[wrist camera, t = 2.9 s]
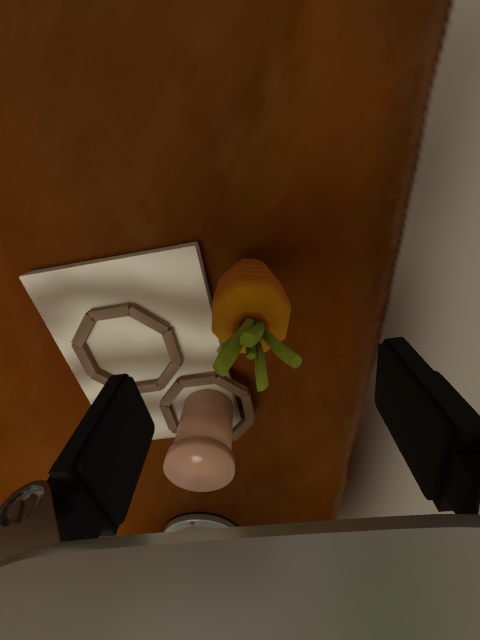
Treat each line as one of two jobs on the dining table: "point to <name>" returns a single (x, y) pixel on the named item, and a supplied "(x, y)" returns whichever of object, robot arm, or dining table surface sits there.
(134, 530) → the dining table surface
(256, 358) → the carrot
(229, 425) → the pink lidded jar
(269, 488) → the dining table surface
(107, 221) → the dining table surface
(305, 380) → the dining table surface
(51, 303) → the stand
